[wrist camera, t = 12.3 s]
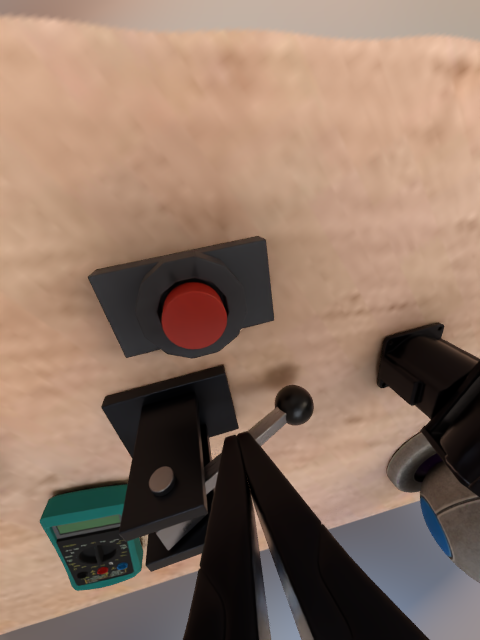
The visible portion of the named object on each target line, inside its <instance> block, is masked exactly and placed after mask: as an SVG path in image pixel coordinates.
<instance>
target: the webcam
mask: <svg viewBox="0 0 480 640" xmlns="http://www.w3.org/2000/svg"><path fill="white" fill-rule="evenodd" d="M387 475H388V477H389V479H390V480H391V481H392V483H393V484H394V485H395V486H396V487H397V488H398V489H399V490H401V491H404V492H411V493H412V492H419V491H420V503H421V509H422V513H423V516H424V519H425V522H426V524H427V526H428V528H429V530H430V532H431V534H432V536H433V537H434V539H435V540H436V542H437V543H438V545H439V546H440V547H441V549H442V550H443V551H444V552H445V554H446V555H447V556H448V557H449V558H450V559H451V560H452V561H453V562H454V563H455V564H456V565H457V566H458V567H459V568H460V569H461V570H463V571H464V572H465V573H466V574H468V575H469V576H470V577H471V578H473V579H474V580H476V581H477V582H479V583H480V497H478V496H477V495H476V494H474V493H473V492H472V491H470V490H469V489H468V488H467V487H465V486H463V485H462V484H461V483H460V482H459V481H458V480H457V479H456V477H455V476H454V475H453V473H452V472H451V471H450V469H449V468H448V467H447V465H446V464H445V463H444V462H443V460H442V459H441V458H440V456H439V455H438V454H437V452H436V451H435V450H434V448H433V447H432V446H431V445H430V443H429V442H428V441H427V439H426V438H425V436H424V435H423V434H422V432H421V433H419V434H418V435H416V436H415V437H413V438H412V439H410V440H409V441H408V442H407V443H405V444H404V445H403V446H402V447H401V448H400V449H399V450H398V451H397V452H396V453H395V455H394V456H393V458H392V459H391V461H390V463H389V465H388V468H387Z"/></svg>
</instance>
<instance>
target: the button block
mask: <svg viewBox="0 0 480 640" xmlns="http://www.w3.org/2000/svg"><path fill="white" fill-rule="evenodd" d="M88 279H89V281H90V283H91V285H92V287H93V289H94V291H95V294H96V296H97V298H98V300H99V302H100V304H101V306H102V308H103V310H104V312H105V315H106V317H107V319H108V321H109V323H110V325H111V327H112V329H113V331H114V334H115V336H116V338H117V340H118V342H119V344H120V346H121V348H122V350H123V352H124V355H125V357H126V358H128V357H132V356H136V355H140V354H144V353H148V352H152V351H156V350H160V349H161V350H163V351H164V352H165V353H167V354H170V355H176V356H182V357H187V358H197V357H201V356H204V355H208V354H212V353H216V352H218V351H220V350H221V349H223V348H224V347H225V346H226V345H227V344H229V343H230V342H231V341H232V340H233V339H234V338H236V337H237V336H238V335H239V332H240V330H241V329H242V328H246V327H250V326H254V325H258V324H262V323H266V322H270V321H274V313H273V303H272V294H271V284H270V275H269V265H268V256H267V246H266V240H265V239H263V238H261V237H259V236H256V237H251V238H246V239H242V240H237V241H232V242H227V243H222V244H217V245H213V246H208V247H203V248H198V249H193V250H188V251H184V252H179V253H174V254H169V255H164V256H160V257H155V258H150V259H145V260H140V261H135V262H131V263H126V264H121V265H116V266H111V267H107V268H102V269H97V270H95V271H94V272H93V273H92V274H91V275H89V276H88ZM188 282H199V283H203V284H206V285H208V286H210V287H211V288H213V289H214V290H215V291H216V292H217V293H218V295H219V296H220V298H221V301H222V303H223V305H224V308H225V310H226V314H227V325H226V328H225V331H224V333H223V334H222V336H221V337H220V338H219V339H218V340H217V341H216V342H215V343H213V344H211V345H210V346H207V347H205V348H201V349H186V348H182V347H180V346H178V345H176V344H174V343H173V342H172V341H170V340H169V339H168V337H167V336H166V335H165V333H164V331H163V328H162V322H161V321H162V312H163V306H164V302H165V299H166V297H167V295H168V294H169V293H170V292H171V291H172V290H173V289H174V288H175V287H177V286H179V285H181V284H184V283H188Z"/></svg>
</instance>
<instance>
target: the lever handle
mask: <svg viewBox="0 0 480 640" xmlns="http://www.w3.org/2000/svg"><path fill="white" fill-rule="evenodd" d="M313 409H314V404H313V400H312V397H311V395H310V394H309V393H308V392H307V391H306V390H305V389H304V388H302V387H300V386H297V385H289V386H286V387H284V388H282V389H281V390H280V391H279V392H278V394H277V396H276V398H275V409H274V410H273V411H272V412H270V413H269V414H268V415H267V416H266V417H264V418H263V419H262V420H261V421H259V422H258V423H257V424H256V425H255V426H253V427H252V428H251V429H250V430H249V431H248V432H249V433H250V434H251V435H252V436H253V438H254V439H255V440H256V441H257V443H258V444H259V445H260V446H261V445H263V444H264V443H265V442H266V441H267V440H268V439H269V438H270V437H272V436H273V435H274V434H275V433H276V432H277V431H278V430H279V429H281V428H282V427H283V426H284V425H285V424H286V423H288V424H290V425H301V424H304V423H305V422H307V421H308V420H309V419H310V417H311V416H312V413H313ZM238 443H239V442H238ZM239 447H240V446H239ZM221 455H222V453H221V454H219V455H218V456H217V457H216V458H214V459H213V460H212V461H211V462H210V463H208V464H207V465H206V466H205V467H204V475H205V487H206V494H208V493H209V492H210V491H211V490H212V489H213V488H214V487H215V485H216V480H217V475H218V470H219V465H220V460H221ZM207 514H208V513H207ZM207 514H206V515H207ZM206 515H203V516H200V517H197V518H194V519H191V520H188V521H185V522H182V523H180V524H177V525H174V526H171V527H168V528H165V529H162V530H159V531H156V534H157V536H158V537H159V539H160V540H161V541H162V543H163V544H164V546H165V547H166V549H167V550H170V549H171V548H172V547H173V546H174V545H175V544H176V543H177V542H178V541H179V540H180V539H181V538H182V537H183V536H185V535H186V534H187V533H188V532H189V531H190V530H191V529H192V528H193V527H194V526H195V525H196V524H197V523H198V522H199V521H200V520H202V519H203V518H204V517H205V516H206Z"/></svg>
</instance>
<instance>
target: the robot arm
mask: <svg viewBox="0 0 480 640" xmlns="http://www.w3.org/2000/svg"><path fill="white" fill-rule="evenodd" d="M443 329H444V325H443V324H441V323H434V324H431V325H427V326H423V327H420V328H416V329H413V330H409V331H406V332H402V333H398V334H395V335H391V336H388V337H386V338H385V339H384V341H383V347H382V354H381V361H380V368H379V375H378V382H377V385H378V386H379V387H380V388H385V387H390V388H391V389H393V390H394V391H395V392H396V393H397V394H398V395H399V396H400V397H402V398H403V399H404V400H405V401H406V402H407V403H408V404H410V405H411V406H413V405H415V406H416V407H418V408H419V409H420V410H421V411H422V412H423V413H424V414H426V415H427V416H428V417H429V418H430V419H431V420H430V421H429V423H428V424H427V425H426V426H424V427H423V428H422V429H421V432H422V434H423V435H424V436H425V438H426V439H427V441H428V442H429V443H430V445H431V446H432V447H433V448H434V450H435V451H436V452H437V454H438V455H439V456H440V458H441V459H442V460H443V462H444V463H445V464H446V465H447V467H448V468H449V469H450V471H451V472H452V473H453V475H454V476H455V477H456V479H457V480H458V481H459V482H460V483H461V484H462V485H463V486H465V487H467V488H468V489H469V490H470V491H472V492H473V493H474V494H476V495H477V496H478V497H480V359H479V358H477V357H475V356H473V355H472V354H470V353H468V352H466V351H464V350H462V349H460V348H458V347H456V346H455V345H453V344H451V343H449V342H447V341H445V340H443V339H441V337H442V333H443ZM238 442H239V443H238ZM239 446H240V447H239ZM245 471H246V472H245ZM246 475H247V476H246ZM251 496H252V497H251ZM252 500H253V502H252ZM253 503H254V506H255V509H256V512H257V515H258V518H259V521H260V524H261V527H262V529H263V532H264V535H265V538H266V541H267V544H268V546H269V549H270V552H271V555H272V558H273V560H274V563H275V566H276V569H277V572H278V575H279V577H280V580H281V583H282V586H283V589H284V592H285V594H286V597H287V600H288V603H289V605H290V608H291V611H292V614H293V617H294V619H295V623H296V625H297V628H298V631H299V634H300V637H301V639H302V640H429V639H428V638H427V637H426V636H425V635H424V634H423V632H422V631H421V630H420V629H419V628H418V627H417V626H416V625H415V624H414V623H413V622H412V621H411V620H410V619H409V618H408V617H407V616H406V615H405V614H404V613H403V612H402V611H401V610H400V609H399V608H398V607H397V606H396V605H395V604H394V603H393V602H392V601H391V600H390V598H389V597H388V596H387V595H386V594H385V593H383V591H382V590H381V589H380V588H379V587H378V586H377V585H376V584H375V583H374V582H373V581H372V580H371V579H370V578H369V577H368V576H367V575H366V573H365V572H364V571H363V570H362V569H361V568H360V567H359V566H358V565H357V564H356V563H355V562H354V561H353V559H352V558H351V557H350V556H349V555H348V554H347V552H346V551H345V550H344V549H343V548H342V546H341V545H340V544H339V543H338V542H337V541H336V539H335V538H334V537H333V536H332V534H331V533H330V532H329V531H328V530H327V528H326V527H325V526H324V525H323V524H322V525H321V521H320V520H319V519H318V517H317V516H316V515H315V514H314V512H313V511H312V510H311V509H310V507H309V506H308V505H307V504H306V502H305V501H304V500H303V499H302V497H301V496H300V495H299V494H298V492H297V491H296V490H295V489H294V487H293V486H292V485H291V484H290V482H289V481H288V480H287V479H286V477H285V476H284V475H283V474H282V472H281V471H280V470H279V469H278V467H277V466H276V465H275V464H274V462H273V461H272V460H271V459H270V457H269V456H268V455H267V454H266V453H265V451H264V450H263V449H262V448H261V446H260V445H259V444H258V443H257V441H256V440H255V439H254V438H253V436H252V435H251V434H250V433H249V432H248V431H246V432H242V433H239V434H238V435H237V436H236V435H232V436H229V437H226V438H225V440H224V445H223V450H222V455H221V460H220V465H219V470H218V475H217V480H216V485H215V490H214V495H213V501H212V506H211V511H210V516H209V521H208V526H207V531H206V536H205V541H204V546H203V551H202V556H201V561H200V567H201V568H200V569H199V571H198V576H197V581H196V586H195V591H194V595H193V600H192V604H191V609H190V613H189V618H188V622H187V626H186V630H185V634H184V638H183V640H271V635H270V627H269V619H268V612H267V604H266V597H265V590H264V582H263V575H262V567H261V559H260V551H259V544H258V536H257V529H256V521H255V514H254V507H253Z"/></svg>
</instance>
